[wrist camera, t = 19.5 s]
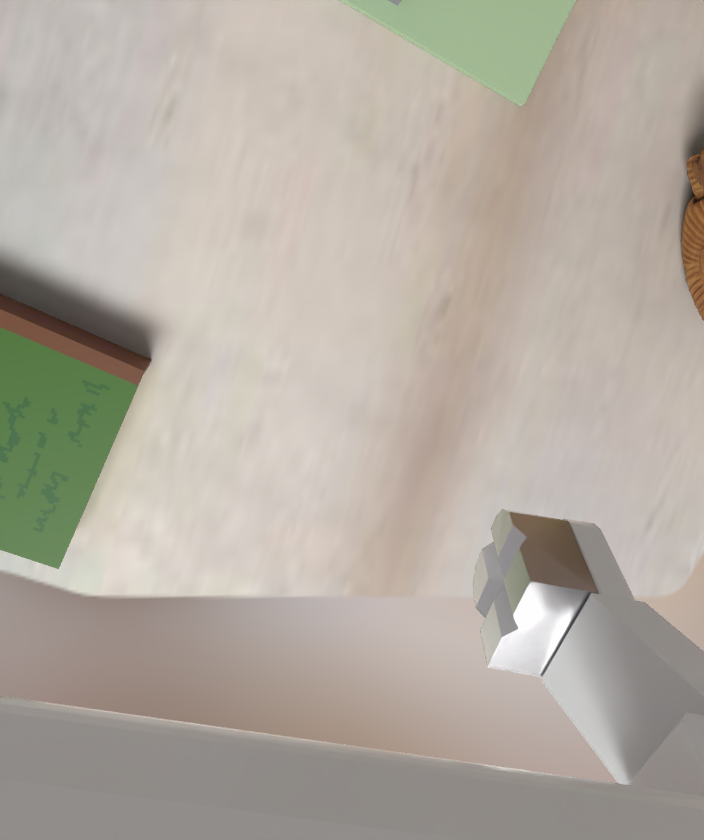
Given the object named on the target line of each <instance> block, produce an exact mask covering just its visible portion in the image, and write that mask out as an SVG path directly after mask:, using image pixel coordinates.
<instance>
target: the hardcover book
mask: <svg viewBox="0 0 704 840" xmlns="http://www.w3.org/2000/svg"><path fill="white" fill-rule="evenodd" d="M150 362H151V360H150V359H148V358H146V357H143V356H141V355H139V354H136V353H134V352H132V351H130V350H127V349H125V348H123V347H120V346H118V345H116V344H113V343H111V342H109V341H107V340H104V339H102V338H100V337H97V336H95V335H93V334H91V333H88V332H86V331H84V330H81V329H79V328H77V327H75V326H72V325H70V324H68V323H65V322H63V321H61V320H59V319H56V318H54V317H52V316H49V315H47V314H45V313H43V312H40V311H38V310H36V309H33V308H31V307H29V306H27V305H24V304H22V303H20V302H17V301H15V300H13V299H11V298H8V297H6V296H4V295H1V294H0V550H3V551H6V552H9V553H12V554H15V555H18V556H21V557H24V558H27V559H30V560H33V561H36V562H39V563H42V564H45V565H48V566H51V567H54V568H57V569H59V567H60V565H61V562H62V560H63V558H64V555H65V553H66V551H67V548H68V546H69V544H70V542H71V539H72V537H73V535H74V532H75V530H76V528H77V525H78V523H79V521H80V518H81V516H82V514H83V512H84V509H85V507H86V505H87V502H88V500H89V498H90V495H91V493H92V491H93V489H94V486H95V484H96V482H97V479H98V477H99V475H100V472H101V470H102V468H103V465H104V463H105V461H106V459H107V456H108V454H109V452H110V449H111V447H112V445H113V442H114V440H115V438H116V435H117V433H118V431H119V429H120V426H121V424H122V422H123V419H124V417H125V415H126V412H127V410H128V408H129V406H130V403H131V401H132V399H133V396H134V394H135V392H136V389H137V387H138V385H139V382H140V380H141V378H142V376H143V374H144V373H145V371H146V370H147V368H148V367H149V365H150Z"/></svg>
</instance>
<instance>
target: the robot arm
mask: <svg viewBox="0 0 704 840" xmlns="http://www.w3.org/2000/svg"><path fill="white" fill-rule="evenodd" d="M491 531H492V535H493V539H494V542H492V543H491V544H489V545H488V546H486V547H485V548H483V549H482V550H481V553H480V555H479V558H478V561H477V563H476V567H475V573H474V579H473V596H474V601H475V607H476V608H477V610H478V611H479V612H480V613H481V614H482V615H483V616H484V617H485V618H486V619H485V621H484V623H483V625H482V627H481V630H480V633H481V638H482V642H483V648H484V652H485V658H486V663H487V667H490V668H495V669H500V670H506V671H511V672H517V673H522V674H528V675H533V676H538V677H542V678H541V681H542V682H543V683H544V685H545V686H546V687H547V689H548V690H549V691H550V692H551V694H552V695H553V697H554V698H555V699H556V701H557V702H558V703H559V705H560V706H561V707H562V709H563V710H564V711H565V713H566V714H567V715H568V717H569V718H570V719H571V721H572V722H573V723H574V725H575V726H576V727H577V729H578V730H579V731H580V732H581V734H582V735H583V737H584V738H585V739H586V741H587V742H588V743H589V745H590V746H591V747H592V749H593V750H594V751H595V753H596V754H597V755H598V757H599V758H600V759H601V761H602V762H603V763H604V764H605V766H606V767H607V769H608V770H609V771H610V773H611V774H612V775H613V777H614V778H615V779H616V781H617V782H618V783H612V782H605V781H598V780H590V779H583V778H577V777H569V776H562V775H555V774H548V773H541V772H534V771H527V770H520V769H512V768H506V767H499V766H492V765H485V764H478V763H470V762H464V761H456V760H449V759H443V758H436V757H428V756H422V755H414V754H407V753H400V752H393V751H386V750H379V749H372V748H365V747H358V746H351V745H344V744H337V743H329V742H323V741H315V740H308V739H301V738H295V737H287V736H280V735H273V734H265V733H259V732H252V731H245V730H237V729H231V728H224V727H217V726H210V725H203V724H196V723H188V722H181V721H174V720H167V719H160V718H153V717H146V716H139V715H132V714H125V713H118V712H111V711H104V710H97V709H90V708H83V707H75V706H67V705H61V704H54V703H47V702H40V701H33V700H26V699H19V698H12V697H4V696H0V840H704V651H703V650H701V649H700V648H699V647H698V646H697V645H695V644H694V643H693V642H692V641H691V640H689V639H688V638H687V637H686V636H685V635H683V634H682V633H681V632H680V631H679V630H677V629H676V628H675V627H674V626H672V625H671V624H670V623H669V622H668V621H666V620H665V619H664V618H663V617H662V616H661V615H659V614H658V613H657V612H656V611H655V610H654V609H652V608H651V607H650V606H649V605H648V604H646V603H645V602H640V601H635V599H634V597H633V595H632V593H631V591H630V589H629V587H628V585H627V583H626V580H625V578H624V576H623V574H622V572H621V570H620V568H619V566H618V564H617V562H616V560H615V558H614V556H613V554H612V552H611V550H610V548H609V546H608V543H607V541H606V539H605V537H604V535H603V533H602V531H601V529H600V528H599V527H598V526H596V525H595V524H593V523H587V522H580V521H574V520H567V519H563V520H560V519H555V518H549V517H543V516H538V515H532V514H526V513H520V512H515V511H509V510H503V509H502V510H501V511H500V512H499V514H498V515H497V516H496V518H495V520H494V522H493V525H492V527H491Z"/></svg>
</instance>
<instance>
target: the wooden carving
mask: <svg viewBox="0 0 704 840" xmlns="http://www.w3.org/2000/svg"><path fill="white" fill-rule="evenodd" d="M687 175H688V177H689V180H690V184H691V186H692V190H693V193H694V194H695V195H696V196H694V197H693V198H692V199H691V200H690V202H689V203H688V205H687V209H686V212H685V215H684V220H683V228H682V240H681V243H682V256H683V264H684V269H685V275H686V281H687V284H688V287H689V291H690V293H691V295H692V298H693V300H694V303H695V305H696V308H697V309H698V312H699V314H700V316H701V317H702V319H703V320H704V149H702V150H701V153H699V154H696V155H694V156H692V157H690V158H689V159H688V161H687Z"/></svg>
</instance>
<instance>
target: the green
mask: <svg viewBox="0 0 704 840" xmlns="http://www.w3.org/2000/svg"><path fill="white" fill-rule="evenodd" d="M340 1H341V2H343V3H345V4H346V5H348V6H350V7H352V8H353V9H355V10H357V11H358V12H360V13H362V14H363V15H365V16H367V17H369V18H370V19H372V20H374V21H375V22H377V23H379V24H380V25H382V26H384V27H386V28H387V29H389V30H391V31H392V32H394V33H396V34H397V35H399V36H401V37H403V38H404V39H406V40H408V41H409V42H411V43H413V44H414V45H416V46H418V47H420V48H421V49H423V50H425V51H426V52H428V53H430V54H432V55H433V56H435V57H437V58H438V59H440V60H442V61H443V62H445V63H447V64H449V65H450V66H452V67H454V68H455V69H457V70H459V71H460V72H462V73H464V74H466V75H467V76H469V77H471V78H472V79H474V80H476V81H477V82H479V83H481V84H483V85H484V86H486V87H488V88H489V89H491V90H493V91H494V92H496V93H498V94H500V95H501V96H503V97H505V98H506V99H508V100H510V101H511V102H513V103H515V104H517V105H518V106H523V105H524V104H525V102H526V100H527V98H528V96H529V94H530V92H531V90H532V88H533V86H534V84H535V82H536V80H537V78H538V76H539V74H540V72H541V70H542V68H543V66H544V64H545V62H546V60H547V57H548V55H549V53H550V51H551V49H552V47H553V45H554V43H555V41H556V39H557V37H558V35H559V33H560V31H561V29H562V27H563V25H564V23H565V21H566V19H567V17H568V15H569V13H570V11H571V9H572V7H573V5H574V3H575V1H576V0H340Z"/></svg>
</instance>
